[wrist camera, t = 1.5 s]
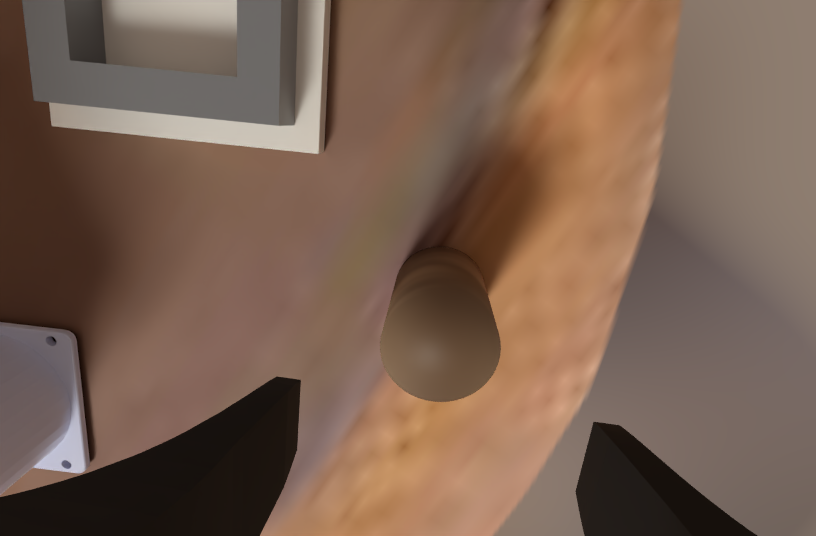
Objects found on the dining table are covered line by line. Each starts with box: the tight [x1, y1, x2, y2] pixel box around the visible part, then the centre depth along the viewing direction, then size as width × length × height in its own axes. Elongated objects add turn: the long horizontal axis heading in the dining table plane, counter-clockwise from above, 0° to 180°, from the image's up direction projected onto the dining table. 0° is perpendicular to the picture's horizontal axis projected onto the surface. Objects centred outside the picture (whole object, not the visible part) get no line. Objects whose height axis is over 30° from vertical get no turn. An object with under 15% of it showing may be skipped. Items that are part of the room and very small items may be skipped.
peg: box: [380, 247, 501, 402], centre depth 19 cm, size 4×4×6 cm
